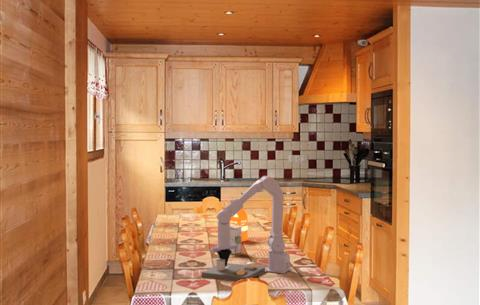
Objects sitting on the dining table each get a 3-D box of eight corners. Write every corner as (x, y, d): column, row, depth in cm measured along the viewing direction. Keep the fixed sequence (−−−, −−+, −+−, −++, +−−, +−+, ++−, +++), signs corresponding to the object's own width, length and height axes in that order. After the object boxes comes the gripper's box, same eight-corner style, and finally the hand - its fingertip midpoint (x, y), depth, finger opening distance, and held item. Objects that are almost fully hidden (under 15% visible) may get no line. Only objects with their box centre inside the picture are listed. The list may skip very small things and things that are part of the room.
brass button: (246, 276, 247) (246, 270, 246) (242, 278, 243) (242, 272, 243) (238, 275, 248) (238, 269, 248) (234, 277, 245) (234, 271, 245)
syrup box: (233, 251, 301) (233, 224, 300) (242, 252, 297) (241, 225, 296) (226, 253, 296) (226, 226, 296) (235, 254, 293) (234, 227, 292)
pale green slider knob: (225, 269, 252) (225, 259, 252) (223, 270, 251) (223, 260, 250) (218, 268, 254) (218, 258, 254) (216, 269, 252) (216, 259, 252)
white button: (256, 268, 255) (256, 262, 255) (252, 270, 252) (252, 264, 252) (248, 267, 257) (248, 261, 257) (244, 269, 254) (244, 263, 254)
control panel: (265, 271, 257) (265, 267, 257) (245, 282, 239) (245, 277, 239) (223, 266, 267) (223, 262, 267) (201, 276, 249) (201, 272, 249)
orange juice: (247, 239, 333) (247, 206, 332) (239, 242, 326) (238, 208, 325) (237, 238, 337) (237, 205, 337) (228, 240, 330) (228, 207, 330)
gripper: (216, 239, 247) (216, 270, 248) (241, 235, 256) (242, 265, 256) (207, 237, 253) (207, 267, 253) (232, 233, 261) (232, 262, 262)
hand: (224, 265), depth 255 cm, fingers closed
